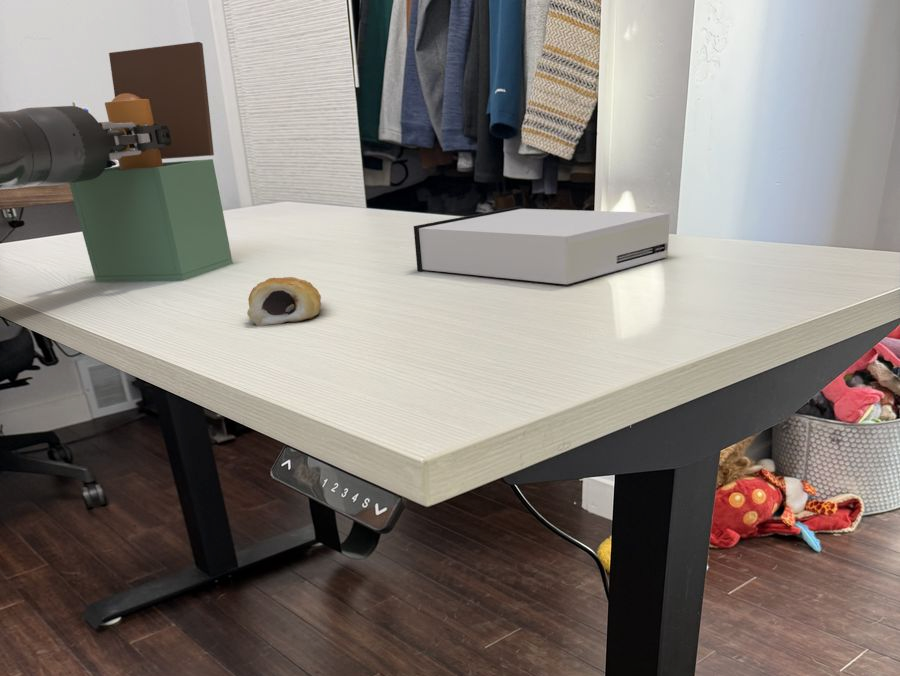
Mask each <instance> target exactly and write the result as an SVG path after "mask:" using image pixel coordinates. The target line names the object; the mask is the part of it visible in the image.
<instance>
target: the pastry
mask: <svg viewBox="0 0 900 676" xmlns="http://www.w3.org/2000/svg"><path fill="white" fill-rule="evenodd" d="M248 295H249V296H248V307H249V308H248V309H247V316H248V318H249V319H250V320H251V322H252V323H254V325H256V326H271V325H272V326H273V325H280V324H281V325H282V324H283V323H286V322H287V323H288V322H291V323H298V322H300V321H305V320H312V319H313V318H314V317H316V316H317V315H319V313H320V312H321V307H322V303H321V301H322V297H321V294H320V292H319V291H318V289H317V288H316V287H315V286H313V284H312V283H311V282H310V281H307V280H305V279H300V278H297V277H293V276H287V277H269V278H268V279H266V280H265V281H261V282H259V283H258V284H256V286H254V287H253V288H252V289H251V291H250V293H249V294H248Z"/></svg>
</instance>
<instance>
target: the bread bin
mask: <svg viewBox="0 0 900 676" xmlns="http://www.w3.org/2000/svg"><path fill="white" fill-rule="evenodd" d="M162 163H163V166H161V167H152V168H137V169H123V170H120V166H119V165H117V166H112V167H111V166H110V167H105V169H104V171H103V172H102V174H101V175H100V176H98V177H97V178H95V179H92V180H87V181H80V182H73V183H68V184H69V188H70V192H71V196H72V199H73V203H74V206H75V210H76V213H77V217H78V221H79V224H80V229H81V233H82V236H83V240H84V243H85V247H86V251H87V255H88V258H89V262H90V266H91V270H92V273H93V277H94V282H96V283H118V282H119V283H120V282H124V283H125V282H127V283H128V282H167V281H168V282H174V281H175V282H177V281H181V282H182V281H187V280H190V279H192V278H195V277H198V276H201V275H204V274H207V273H210V272H212V271H213V272H214V271H215V270H219V269H222V268H224V267H227V266H230V265H233V264H234V262H233V259H232V258H233V257H232V252H231V246H230V242H229V241H230V240H229V236H228V231H227V225H226V221H225V215H224V210H223V204H222V200H221V195H220V194H221V193H220V189H219V184H218V180H217V179H218V178H217V174H216V173H217V172H216V169H215V163H214V158H210V159H209V158H208V159H197V160H181V161H180V160H179V161H168V162H162Z"/></svg>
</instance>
